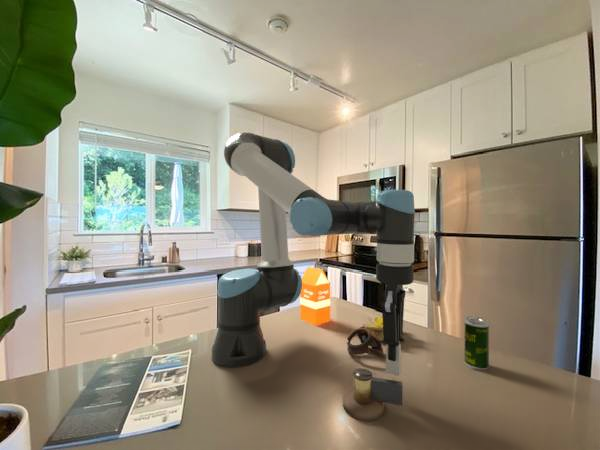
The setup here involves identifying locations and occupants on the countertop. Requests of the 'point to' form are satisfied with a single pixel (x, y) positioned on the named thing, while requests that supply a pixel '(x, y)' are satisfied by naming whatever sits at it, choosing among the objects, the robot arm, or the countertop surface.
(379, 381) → the knob
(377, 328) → the decorative flower
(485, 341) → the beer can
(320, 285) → the orange juice
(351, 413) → the dial base
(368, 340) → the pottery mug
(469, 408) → the countertop surface
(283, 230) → the robot arm
